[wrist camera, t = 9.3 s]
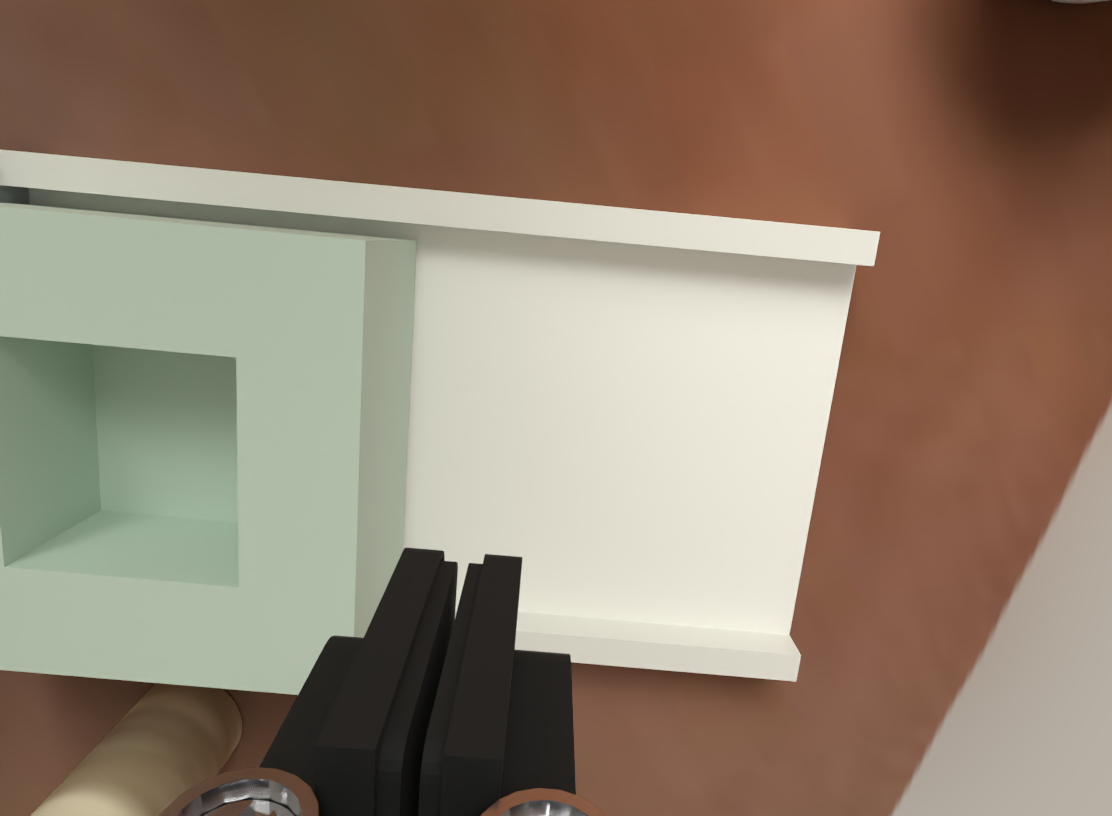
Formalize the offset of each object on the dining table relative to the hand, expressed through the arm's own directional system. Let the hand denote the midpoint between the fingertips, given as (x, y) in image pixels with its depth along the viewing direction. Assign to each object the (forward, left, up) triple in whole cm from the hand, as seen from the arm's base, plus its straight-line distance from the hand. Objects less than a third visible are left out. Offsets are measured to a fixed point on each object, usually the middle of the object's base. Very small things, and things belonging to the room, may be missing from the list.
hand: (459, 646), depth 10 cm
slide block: (+1, -10, -14) cm, 17 cm away
